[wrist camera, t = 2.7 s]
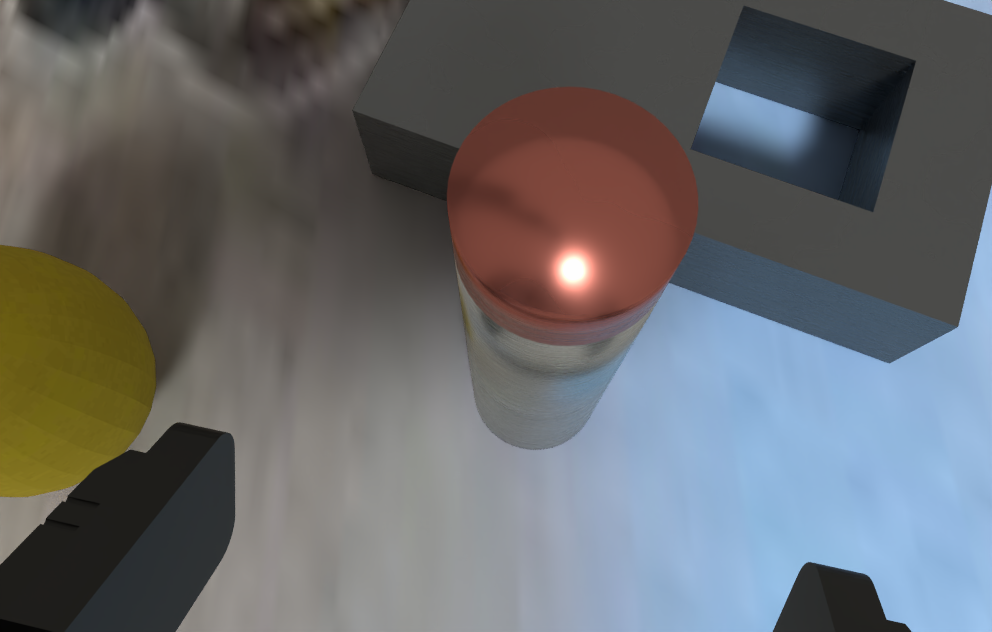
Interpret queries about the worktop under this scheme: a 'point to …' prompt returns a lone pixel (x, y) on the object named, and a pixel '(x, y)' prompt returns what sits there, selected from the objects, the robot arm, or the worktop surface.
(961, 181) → the grey block with hole
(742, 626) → the worktop surface
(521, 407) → the pin
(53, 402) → the lemon
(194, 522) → the robot arm
